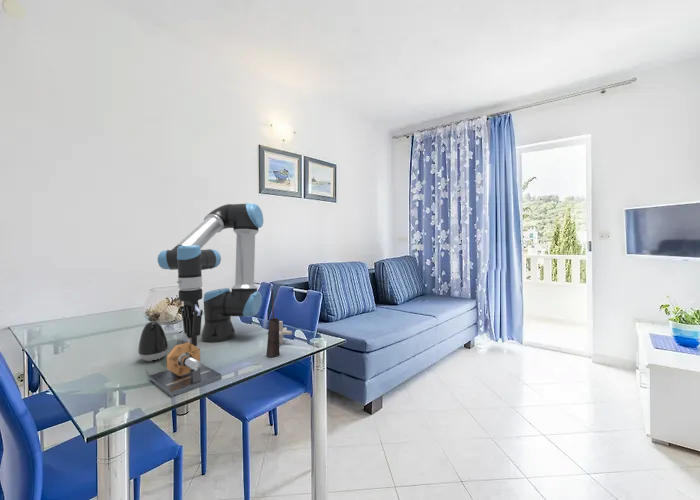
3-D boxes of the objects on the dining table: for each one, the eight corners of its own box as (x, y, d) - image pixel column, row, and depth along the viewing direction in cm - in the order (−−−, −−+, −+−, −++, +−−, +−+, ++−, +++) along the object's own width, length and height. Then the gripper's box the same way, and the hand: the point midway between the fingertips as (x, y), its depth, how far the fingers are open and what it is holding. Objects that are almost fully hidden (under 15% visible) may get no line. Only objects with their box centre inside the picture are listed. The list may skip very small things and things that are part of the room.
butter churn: (287, 358, 127) (285, 287, 125) (262, 361, 124) (260, 289, 123) (285, 350, 135) (283, 284, 134) (262, 353, 133) (259, 286, 131)
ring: (167, 377, 107) (166, 347, 106) (198, 367, 114) (196, 339, 114) (169, 379, 105) (168, 349, 105) (200, 369, 113) (199, 341, 112)
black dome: (137, 366, 122) (135, 326, 121) (140, 357, 131) (138, 320, 130) (168, 361, 127) (166, 322, 126) (169, 352, 136) (167, 317, 135)
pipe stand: (149, 379, 110) (147, 354, 109) (196, 365, 122) (195, 342, 121) (171, 397, 97) (169, 368, 97) (221, 378, 109) (220, 353, 109)
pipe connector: (287, 347, 139) (286, 324, 138) (266, 346, 141) (265, 324, 140) (295, 340, 148) (295, 319, 148) (275, 339, 150) (275, 318, 150)
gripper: (171, 288, 115) (174, 353, 116) (187, 292, 107) (190, 362, 108) (193, 285, 121) (195, 347, 122) (209, 289, 112) (211, 355, 113)
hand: (193, 354), depth 115 cm, fingers closed
